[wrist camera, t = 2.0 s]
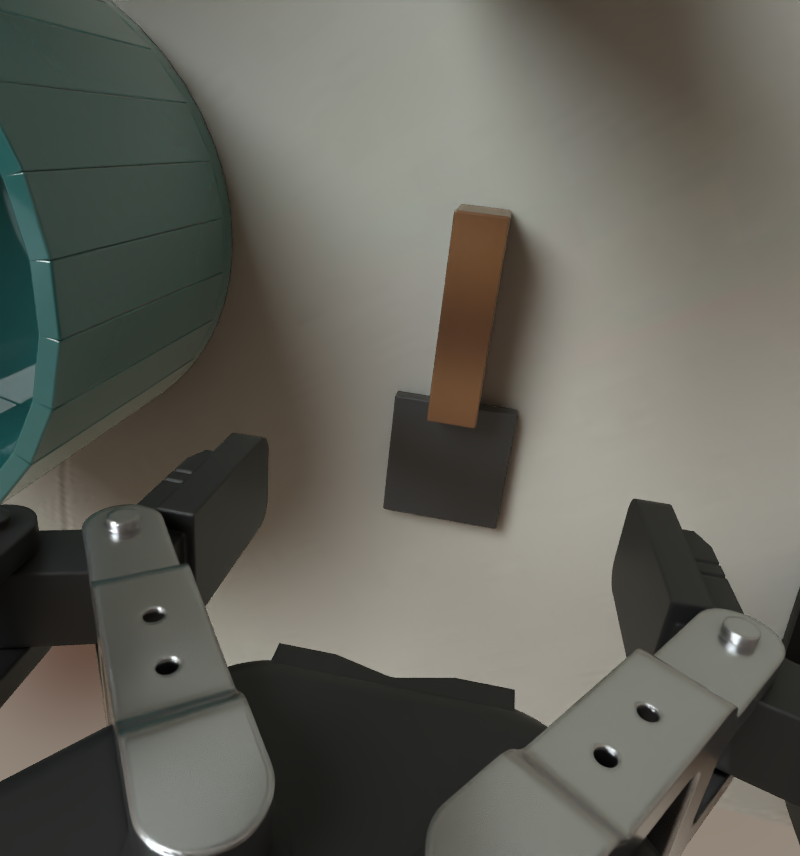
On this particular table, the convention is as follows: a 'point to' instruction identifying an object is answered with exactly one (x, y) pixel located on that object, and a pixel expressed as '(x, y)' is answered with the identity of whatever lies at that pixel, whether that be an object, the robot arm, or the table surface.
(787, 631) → the end cap
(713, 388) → the table surface
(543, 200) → the table surface
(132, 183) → the bowl
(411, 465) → the spatula
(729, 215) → the table surface
